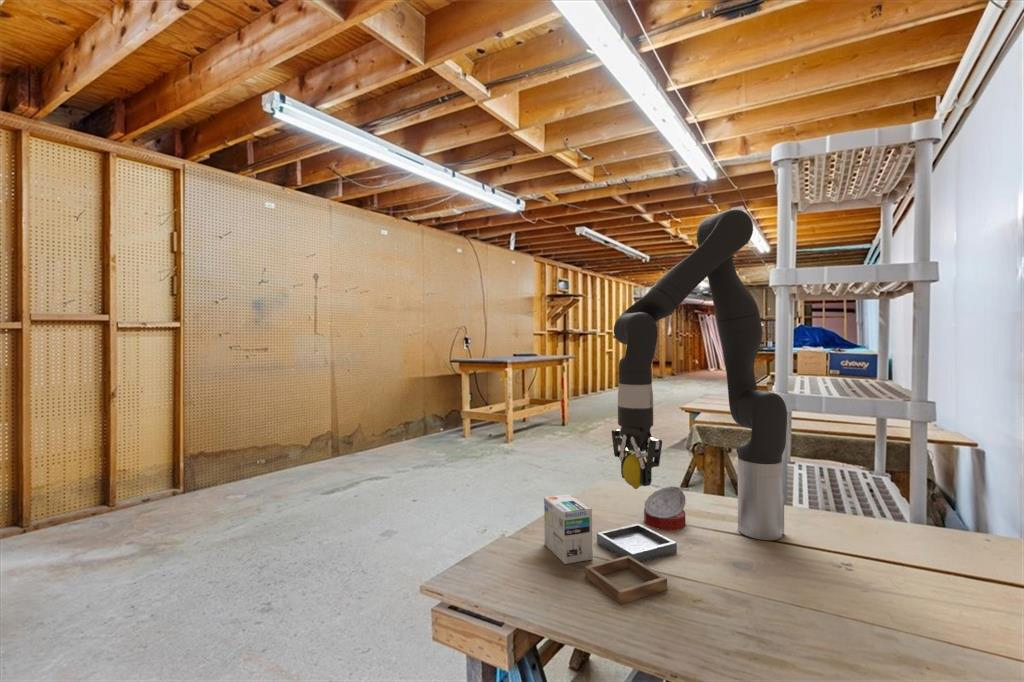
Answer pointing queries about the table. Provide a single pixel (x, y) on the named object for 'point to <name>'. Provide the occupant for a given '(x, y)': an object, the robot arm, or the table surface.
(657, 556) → the tray
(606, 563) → the holder
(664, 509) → the canned food
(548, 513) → the light bulb box
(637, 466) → the lemon
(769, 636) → the table surface
